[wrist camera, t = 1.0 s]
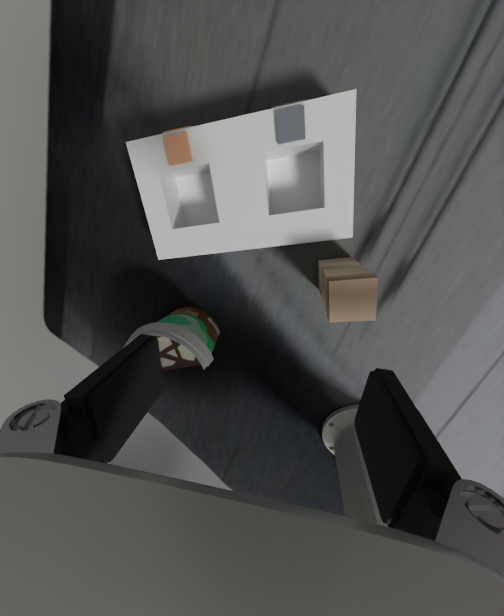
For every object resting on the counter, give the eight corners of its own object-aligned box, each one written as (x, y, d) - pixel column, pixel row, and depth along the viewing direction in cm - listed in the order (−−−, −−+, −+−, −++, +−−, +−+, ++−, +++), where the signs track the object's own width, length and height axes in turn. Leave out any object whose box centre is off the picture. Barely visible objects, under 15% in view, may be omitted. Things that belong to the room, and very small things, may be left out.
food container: (217, 292, 34) (190, 322, 25) (229, 329, 36) (208, 369, 27) (145, 307, 37) (98, 338, 28) (160, 340, 39) (120, 380, 30)
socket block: (343, 232, 28) (353, 237, 24) (177, 252, 33) (156, 260, 28) (344, 108, 24) (357, 81, 19) (151, 150, 28) (122, 137, 23)
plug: (350, 287, 31) (375, 320, 22) (318, 289, 32) (329, 322, 23) (351, 256, 29) (378, 277, 20) (317, 259, 30) (328, 281, 21)
